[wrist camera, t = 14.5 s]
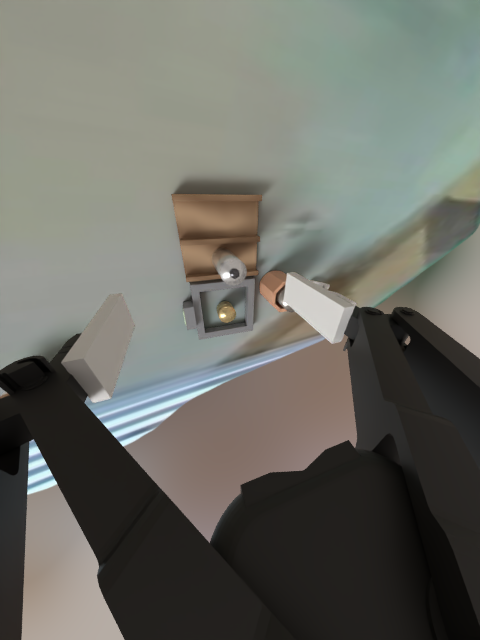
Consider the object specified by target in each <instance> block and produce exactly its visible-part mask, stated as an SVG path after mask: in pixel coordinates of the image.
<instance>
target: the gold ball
mask: <svg viewBox="0 0 480 640" xmlns="http://www.w3.org/2000/svg"><path fill="white" fill-rule="evenodd" d="M217 313H218V316H219V318H220V320H221V321H222V322H225V323H228V322H231V321H233V320H234V319H235V317H236V312H235V310H234V308H233V306H232V304H231V303H230V302H227V301H223V302H221V303H219V304H218V306H217Z"/></svg>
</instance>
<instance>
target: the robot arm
mask: <svg viewBox="0 0 480 640" xmlns="http://www.w3.org/2000/svg"><path fill="white" fill-rule="evenodd" d="M283 301H284V302H285V303H286V304H288V305H289V306H290V307H291V308H292V309H293V310H294V311H295V312H297V313H298V314H299V315H300V316H301V317H302V318H303V319H305V320H306V321H307V322H308V323H309V324H310V325H311V326H312V327H314V328H315V329H316V330H317V331H318V332H319V333H320V334H322V335H323V336H324V337H325V338H326V339H327V340H328V341H330V342H331V343H332V344H333V343H337V342H341V341H342V339H343V336H344V334H345V335H346V336H348V339H347V342H346V344H345V347H344V349H343V350H344V351H345V350H346V349H347V350H348V358H349V367H350V375H351V385H352V394H353V402H354V411H355V419H356V428H357V443H356V447H355V448H354V447H353V446H352V444H351V443H350V441H349V440H348V441H345V442H343V443H340V444H338V445H336V446H333V447H331V448H329V449H326V450H325V451H324V452H323V453H322V454H321V455H320V456H318V458H316V459H315V461H313V462H312V463H311V464H310V465H309V466H308V467H307V468H306V469H305V470H303V471H291V472H273V473H268V474H266V475H263V476H261V477H259V478H256V479H254V480H251V481H249V482H247V483H244V484H242V485H241V494H240V495H238V496H237V497H236V498H235V499H234V500H233V502H232V503H231V504H230V505H229V506H228V508H227V509H226V510H225V512H224V513H223V515H222V517H221V518H220V520H219V522H218V524H217V526H216V529H215V531H214V533H213V535H212V538H211V541H210V543H209V542H208V541H207V540H206V539H205V538H204V536H203V535H202V534H201V533H200V532H199V531H198V530H197V529H196V527H195V526H194V525H193V524H192V523H191V522H190V521H189V520H188V519H187V517H186V516H185V515H184V514H183V513H182V512H181V511H180V510H179V508H178V507H177V506H176V505H175V504H174V503H173V502H172V501H171V499H169V497H168V496H167V495H166V494H165V493H164V492H163V491H162V490H161V489H160V488H159V487H158V485H157V484H156V483H155V482H154V481H153V480H152V479H151V478H150V477H149V475H148V474H147V473H146V472H145V471H144V470H143V469H142V468H141V467H140V465H139V464H138V463H137V462H136V461H135V460H134V459H133V457H132V456H131V455H130V454H129V453H128V452H127V451H126V449H125V448H124V447H123V446H122V445H121V444H120V443H119V442H118V440H117V439H116V438H115V437H114V436H113V435H112V434H111V433H110V431H109V430H108V429H107V428H106V427H105V426H104V425H103V424H102V422H101V421H100V420H99V419H98V418H97V417H96V416H95V415H94V413H93V412H92V411H91V410H90V409H89V408H88V407H87V406H86V404H85V403H84V402H85V400H86V398H87V396H88V397H89V398H90V399H91V401H92V402H93V403H95V402H99V401H103V400H107V399H111V397H112V394H113V391H114V388H115V385H116V382H117V379H118V376H119V373H120V370H121V367H122V364H123V361H124V358H125V354H126V351H127V348H128V345H129V342H130V339H131V336H132V333H133V330H134V327H135V324H134V322H133V319H132V317H131V314H130V312H129V309H128V307H127V305H126V302H125V300H124V297H123V295H122V293H121V294H113V295H109V296H108V298H107V299H106V301H105V302H104V303H103V305H102V306H101V308H100V309H99V310H98V312H97V313H96V315H95V316H94V317H93V319H92V320H91V321H90V323H89V324H88V326H87V327H86V328H85V330H84V331H83V333H81V334H76V335H75V336H73V337H72V338H70V339H69V340H68V341H67V342H66V343H65V344H64V346H63V347H62V349H61V350H60V351H59V352H58V354H57V355H56V356H55V357H54V358H53V360H52V361H51V362H50V364H49V363H48V361H47V360H46V359H45V358H44V357H42V356H31V357H27V358H23V359H21V360H18V361H15V362H14V363H12V364H10V365H8V366H6V367H5V368H3V369H2V370H0V387H1V388H2V389H3V390H4V391H6V392H7V393H8V394H9V395H8V396H6V397H3V398H0V640H21V634H22V609H23V584H24V557H25V534H26V533H25V531H26V510H27V485H28V460H29V441H31V440H33V439H34V441H35V442H36V444H37V446H38V448H39V450H40V452H41V454H42V456H43V458H44V459H45V461H46V463H47V465H48V467H49V469H50V471H51V473H52V475H53V476H54V478H55V480H56V482H57V484H58V486H59V488H60V490H61V492H62V493H63V495H64V497H65V499H66V501H67V503H68V505H69V507H70V508H71V510H72V512H73V514H74V516H75V518H76V520H77V522H78V524H79V525H80V527H81V529H82V531H83V533H84V535H85V537H86V539H87V541H88V542H89V544H90V546H91V548H92V550H93V552H94V554H95V556H96V558H97V560H98V563H99V570H98V574H97V578H98V583H99V587H100V589H101V592H102V594H103V597H104V599H105V601H106V603H107V605H108V607H109V609H110V611H111V613H112V615H113V617H114V619H115V621H116V623H117V625H118V627H119V629H120V631H121V633H122V635H123V637H124V639H125V640H480V359H479V358H478V357H476V356H475V355H474V354H473V353H471V352H470V351H469V350H467V349H466V348H465V347H463V346H462V345H461V344H459V343H458V342H457V341H455V340H454V339H453V338H451V337H450V336H449V335H447V334H446V333H445V332H443V331H442V330H441V329H440V328H438V327H437V326H436V325H434V324H433V323H432V322H430V321H429V320H428V319H427V318H425V317H424V316H423V315H421V314H420V313H418V312H417V311H415V310H412V309H411V308H407V307H396V308H394V310H393V312H392V314H384V313H383V312H382V311H380V310H378V309H375V308H371V307H362V308H359V307H357V306H355V305H353V304H352V303H350V302H348V301H346V300H344V299H343V298H341V297H339V296H337V295H335V294H333V293H331V292H330V291H328V290H326V289H324V288H322V287H321V286H319V285H317V284H315V283H313V282H312V281H310V280H308V279H306V278H305V277H303V276H301V275H299V274H297V273H296V272H291V273H287V278H286V285H285V293H284V300H283ZM408 336H410V339H411V340H410V343H409V344H408V345H406V344H405V343H404V342H405V341H406V339H407V338H408Z"/></svg>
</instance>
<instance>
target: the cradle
mask: <svg viewBox="0 0 480 640" xmlns="http://www.w3.org/2000/svg"><path fill="white" fill-rule="evenodd" d="M190 287H191V293H192V299H193V301H186V302H183V315H184V320H185V325H187V330H189V329H195V328H197V330H198V336H199V340H200V339H206V338H212V337H217V336H223V335H229V334H234V333H240V332H246V331H251V330H253V316H254V290H255V278H254V277H253V276H247V277H245V279H244V281H243V282H242V283H240V284H239V285H235V286H230V285H227V284H226V283H225V282H224V281H223V280H222V279H217V280H208V281H198V282H190ZM238 287H245V322H243V323H237V324H231V325H225V326H219V327H213V328H206V329H204V322H203V315H202V308H201V301H200V294H199V292H203V291H212V290H221V289H229V288H238Z"/></svg>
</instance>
